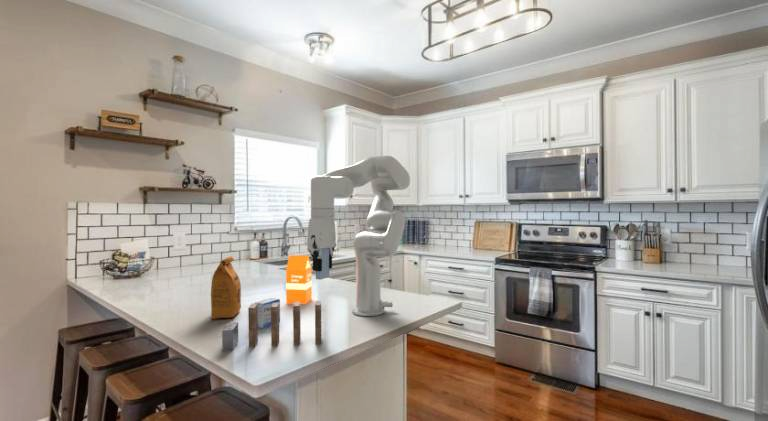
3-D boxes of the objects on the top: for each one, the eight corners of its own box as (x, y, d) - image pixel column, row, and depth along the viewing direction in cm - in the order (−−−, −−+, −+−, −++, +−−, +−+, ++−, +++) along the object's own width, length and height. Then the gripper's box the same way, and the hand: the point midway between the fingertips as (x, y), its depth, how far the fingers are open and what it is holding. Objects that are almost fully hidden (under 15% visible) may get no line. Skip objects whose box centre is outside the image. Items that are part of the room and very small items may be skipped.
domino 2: (279, 340, 121) (279, 302, 121) (277, 346, 116) (277, 306, 116) (273, 340, 121) (273, 302, 121) (271, 346, 116) (270, 307, 116)
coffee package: (245, 310, 154) (244, 255, 154) (234, 320, 142) (233, 260, 141) (220, 310, 154) (219, 255, 153) (206, 320, 141) (206, 260, 141)
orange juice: (292, 298, 173) (292, 254, 173) (311, 299, 172) (311, 254, 171) (286, 303, 165) (285, 256, 165) (305, 303, 164) (305, 257, 164)
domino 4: (321, 338, 123) (321, 300, 123) (321, 343, 118) (321, 305, 118) (315, 338, 123) (315, 301, 123) (315, 344, 118) (315, 305, 118)
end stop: (238, 341, 120) (238, 322, 120) (233, 350, 113) (232, 329, 113) (228, 342, 120) (228, 322, 120) (222, 350, 113) (222, 330, 113)
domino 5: (315, 279, 124) (315, 241, 124) (324, 276, 129) (324, 240, 129) (320, 279, 124) (320, 242, 123) (329, 276, 128) (329, 240, 128)
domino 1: (257, 341, 120) (257, 303, 120) (255, 347, 115) (254, 307, 115) (251, 341, 120) (251, 303, 120) (248, 348, 115) (248, 307, 115)
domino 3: (300, 339, 122) (300, 301, 122) (299, 345, 117) (299, 305, 117) (294, 339, 122) (294, 301, 122) (293, 345, 117) (293, 306, 117)
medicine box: (263, 329, 132) (262, 303, 132) (254, 326, 134) (254, 302, 134) (280, 322, 139) (280, 298, 139) (271, 320, 141) (271, 297, 141)
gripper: (327, 213, 135) (327, 265, 135) (296, 214, 120) (296, 272, 120) (346, 213, 132) (346, 266, 132) (316, 214, 116) (316, 274, 117)
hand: (322, 268), depth 126 cm, fingers closed on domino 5, 4 cm apart
